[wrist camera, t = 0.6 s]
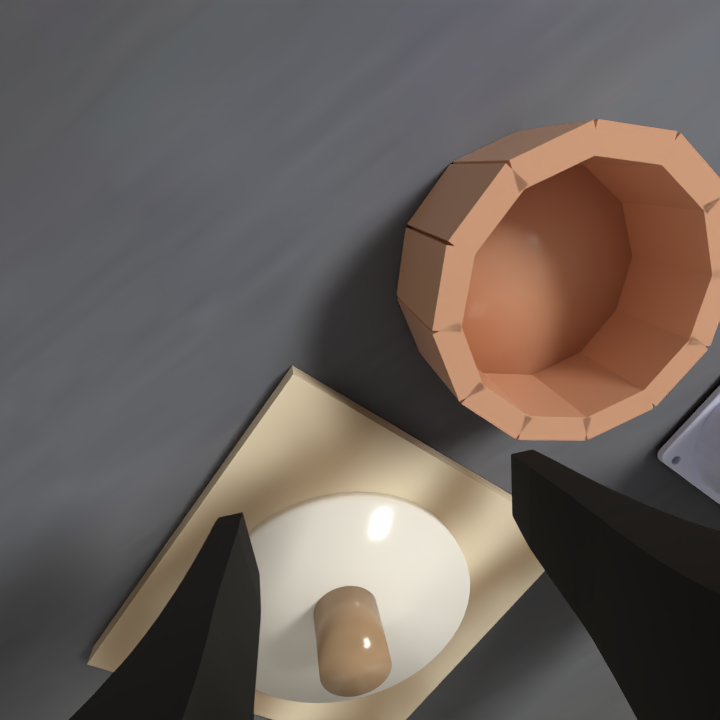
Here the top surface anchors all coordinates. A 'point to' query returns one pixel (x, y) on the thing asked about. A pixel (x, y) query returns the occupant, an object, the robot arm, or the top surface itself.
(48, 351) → the top surface
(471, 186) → the bowl
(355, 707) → the board
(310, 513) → the lid
